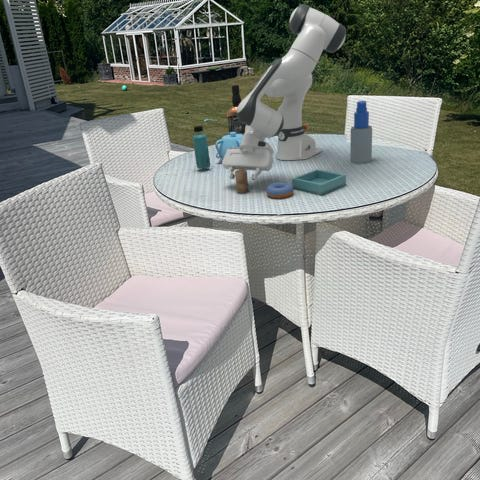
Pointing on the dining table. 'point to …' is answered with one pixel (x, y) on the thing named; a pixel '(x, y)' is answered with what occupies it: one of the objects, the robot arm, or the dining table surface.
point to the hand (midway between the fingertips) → (242, 179)
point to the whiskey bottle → (232, 115)
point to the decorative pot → (228, 143)
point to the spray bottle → (361, 136)
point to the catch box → (319, 182)
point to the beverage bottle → (201, 148)
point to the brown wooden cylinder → (241, 181)
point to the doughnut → (279, 190)
